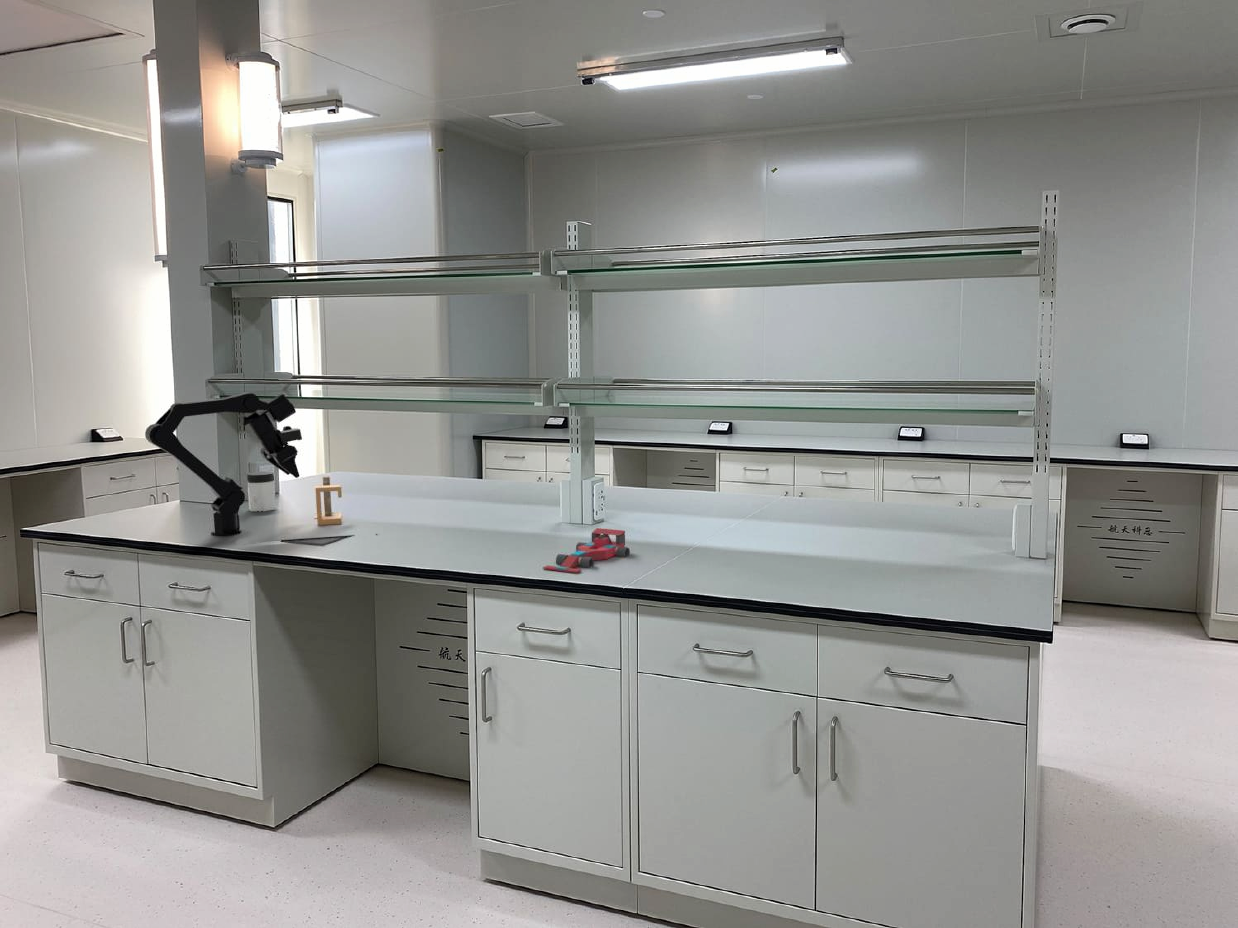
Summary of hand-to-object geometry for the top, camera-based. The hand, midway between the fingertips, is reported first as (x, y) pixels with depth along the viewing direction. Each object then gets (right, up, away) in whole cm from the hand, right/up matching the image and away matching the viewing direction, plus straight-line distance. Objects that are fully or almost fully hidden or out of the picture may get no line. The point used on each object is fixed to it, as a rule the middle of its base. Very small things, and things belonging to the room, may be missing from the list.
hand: (293, 475), depth 289 cm
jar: (-20, -12, +29) cm, 37 cm away
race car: (+89, -21, -49) cm, 103 cm away
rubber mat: (+13, -17, -18) cm, 28 cm away
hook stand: (+9, -14, +5) cm, 17 cm away
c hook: (+11, -14, -1) cm, 18 cm away
